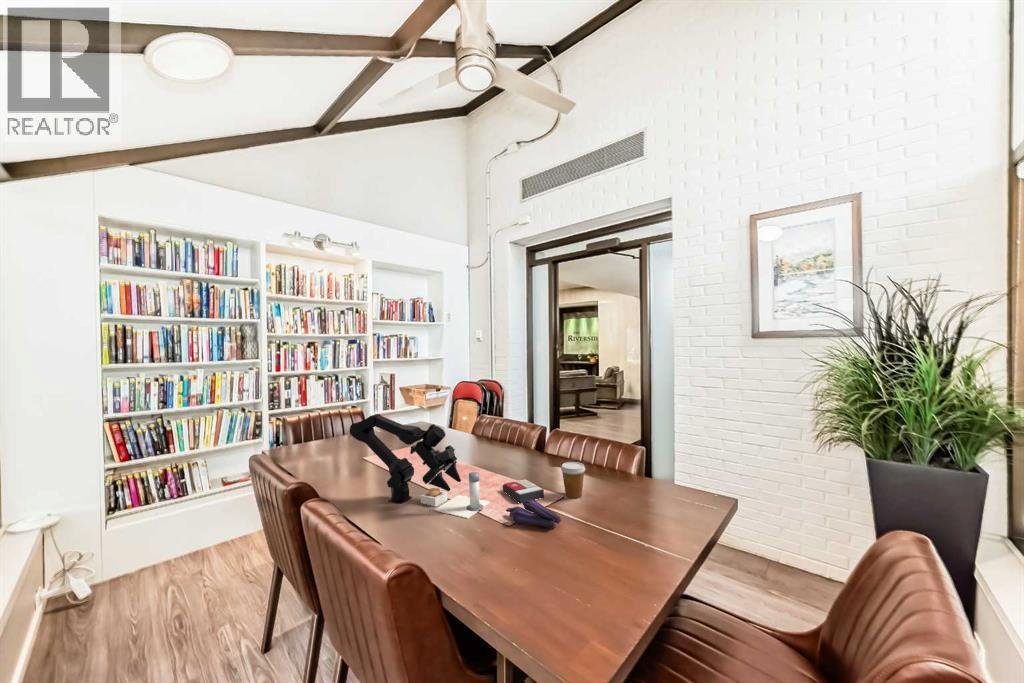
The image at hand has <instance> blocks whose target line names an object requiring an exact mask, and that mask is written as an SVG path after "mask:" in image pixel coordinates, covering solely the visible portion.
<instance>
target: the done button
mask: <svg viewBox="0 0 1024 683" xmlns="http://www.w3.org/2000/svg"><path fill="white" fill-rule="evenodd" d="M440 489H441V488H439V487H432V488H429V489H428V490H427V492H428V496H431V497H437V496H438V495H440V491H441V490H440Z"/></svg>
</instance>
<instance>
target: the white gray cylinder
mask: <svg viewBox="0 0 1024 683" xmlns="http://www.w3.org/2000/svg"><path fill="white" fill-rule="evenodd" d="M468 483H469V484H468V485H469V486H468V487H469V490H468V491H469V497H470V508H471V509H478V508H480V500H481V499H480V473H479V471H471V472H468Z"/></svg>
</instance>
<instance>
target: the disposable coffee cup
mask: <svg viewBox="0 0 1024 683" xmlns="http://www.w3.org/2000/svg"><path fill="white" fill-rule="evenodd" d="M560 470H561V473H562V480H563V486H564V493H565V497H566V498H568V499H571V500H572V499H574V500H575V499H580V498H582V496H583V486H584V478H585V477H584V476H585V472H586V467H585V465H584V464H583V463H581V462H578V461H567V462H564V463H562V464H561V467H560Z"/></svg>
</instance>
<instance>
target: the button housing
mask: <svg viewBox="0 0 1024 683" xmlns="http://www.w3.org/2000/svg"><path fill="white" fill-rule="evenodd" d="M446 501H448V491H445V490H444V491H443V490H440V495H438V496H437V497H431V496H428V491H427V492H425V493H423V494H421V495H420V504H422V503H423V504H422V505H426V504H427V505H426V506H430V505H431V507H436V508H437V506H438V507H439V506H440V505H442V504H444V503H445V502H446Z"/></svg>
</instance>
